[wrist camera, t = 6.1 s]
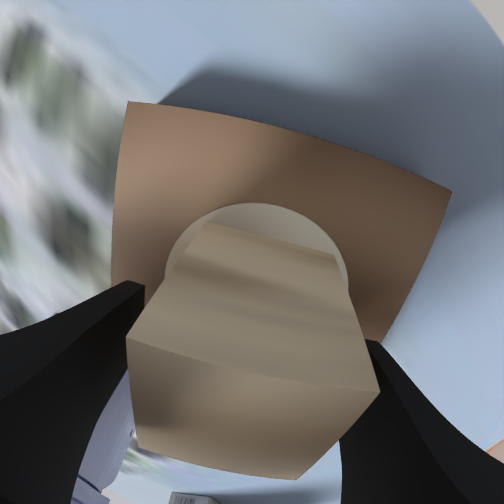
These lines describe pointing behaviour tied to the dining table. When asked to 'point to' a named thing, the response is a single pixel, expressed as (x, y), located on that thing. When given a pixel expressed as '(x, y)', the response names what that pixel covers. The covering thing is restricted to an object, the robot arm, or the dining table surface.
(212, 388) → the maple block
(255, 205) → the walnut base
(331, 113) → the dining table surface
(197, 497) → the coffee box
